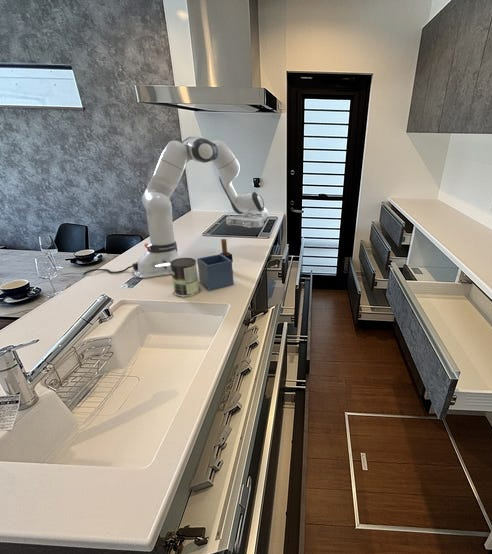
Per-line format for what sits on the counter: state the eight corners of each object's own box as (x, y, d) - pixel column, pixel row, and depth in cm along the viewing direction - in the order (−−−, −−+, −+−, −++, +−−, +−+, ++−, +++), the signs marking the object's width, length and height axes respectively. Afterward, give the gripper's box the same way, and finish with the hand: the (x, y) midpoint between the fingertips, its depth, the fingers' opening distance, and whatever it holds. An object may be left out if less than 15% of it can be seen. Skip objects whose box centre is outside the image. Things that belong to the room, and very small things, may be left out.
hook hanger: (221, 271, 156) (218, 239, 149) (228, 269, 158) (225, 237, 151) (226, 274, 151) (223, 242, 145) (233, 273, 154) (231, 240, 147)
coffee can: (174, 298, 127) (169, 267, 121) (174, 288, 136) (170, 258, 130) (200, 295, 130) (196, 264, 125) (199, 285, 139) (195, 256, 134)
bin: (209, 290, 134) (206, 266, 130) (199, 282, 143) (197, 258, 138) (233, 284, 141) (231, 260, 137) (223, 276, 149) (220, 253, 145)
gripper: (233, 211, 171) (219, 216, 159) (265, 215, 165) (253, 220, 153) (234, 222, 174) (220, 228, 162) (266, 226, 168) (253, 232, 156)
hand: (236, 224), depth 157 cm, fingers open, 8 cm apart
